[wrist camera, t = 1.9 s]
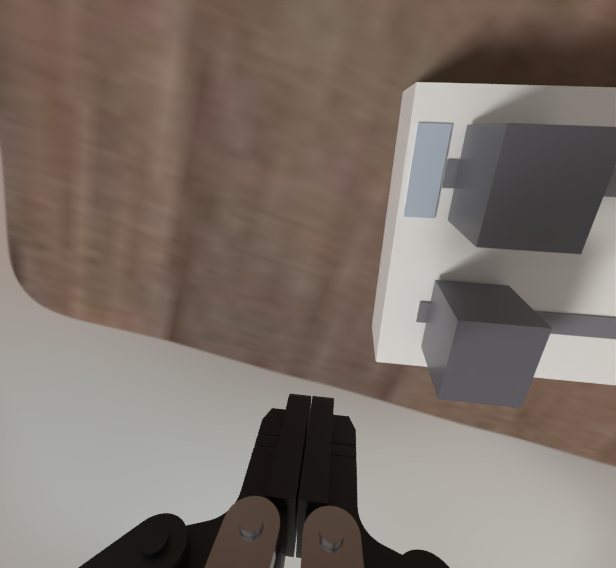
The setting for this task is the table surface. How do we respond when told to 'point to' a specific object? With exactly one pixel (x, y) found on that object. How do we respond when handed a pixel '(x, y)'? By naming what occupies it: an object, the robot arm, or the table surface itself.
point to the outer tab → (482, 343)
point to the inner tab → (531, 185)
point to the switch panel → (488, 261)
